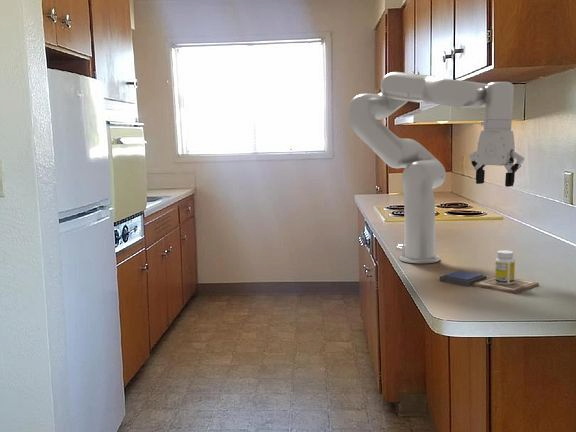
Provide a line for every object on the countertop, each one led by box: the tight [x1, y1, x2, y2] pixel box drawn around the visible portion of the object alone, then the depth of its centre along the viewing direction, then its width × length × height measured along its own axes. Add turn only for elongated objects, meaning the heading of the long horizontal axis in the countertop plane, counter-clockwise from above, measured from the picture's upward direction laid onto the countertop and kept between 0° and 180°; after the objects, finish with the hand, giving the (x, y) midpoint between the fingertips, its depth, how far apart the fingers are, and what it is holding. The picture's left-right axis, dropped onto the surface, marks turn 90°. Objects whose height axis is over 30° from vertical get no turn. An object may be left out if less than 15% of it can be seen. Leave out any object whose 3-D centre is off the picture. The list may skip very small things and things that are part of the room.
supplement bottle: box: [494, 250, 516, 285], centre depth 161 cm, size 5×5×8 cm
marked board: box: [472, 276, 540, 295], centre depth 161 cm, size 12×12×1 cm
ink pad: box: [439, 270, 488, 287], centre depth 167 cm, size 9×9×2 cm
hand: (494, 184), depth 178 cm, fingers open, 9 cm apart
